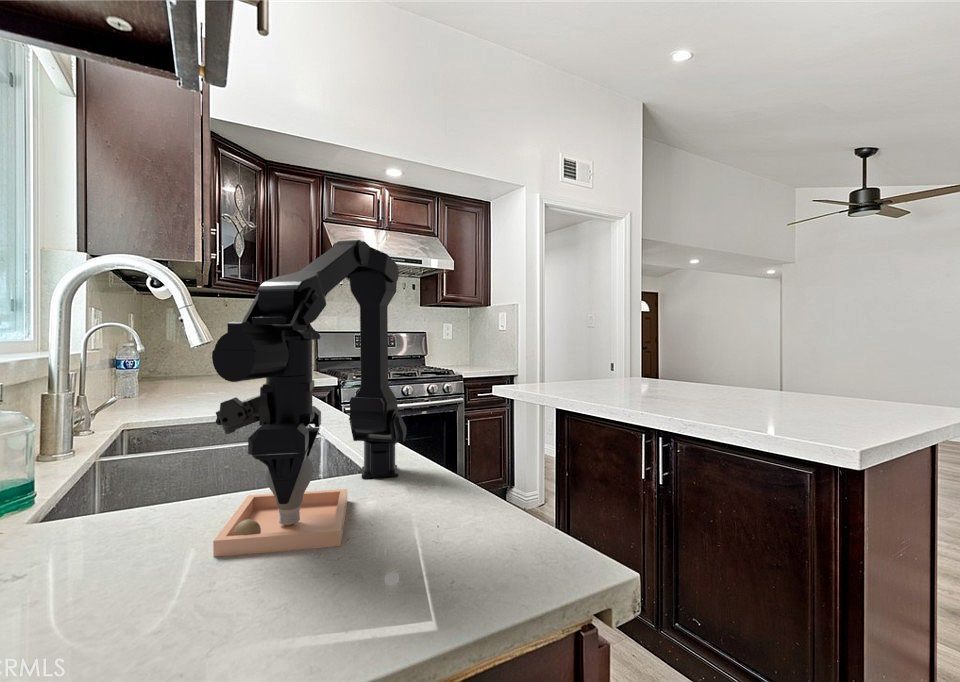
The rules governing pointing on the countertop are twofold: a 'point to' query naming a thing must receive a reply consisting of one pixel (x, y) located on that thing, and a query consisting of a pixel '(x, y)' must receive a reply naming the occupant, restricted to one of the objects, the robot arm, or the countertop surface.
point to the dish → (313, 530)
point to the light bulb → (291, 510)
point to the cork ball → (247, 528)
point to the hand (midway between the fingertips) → (290, 491)
